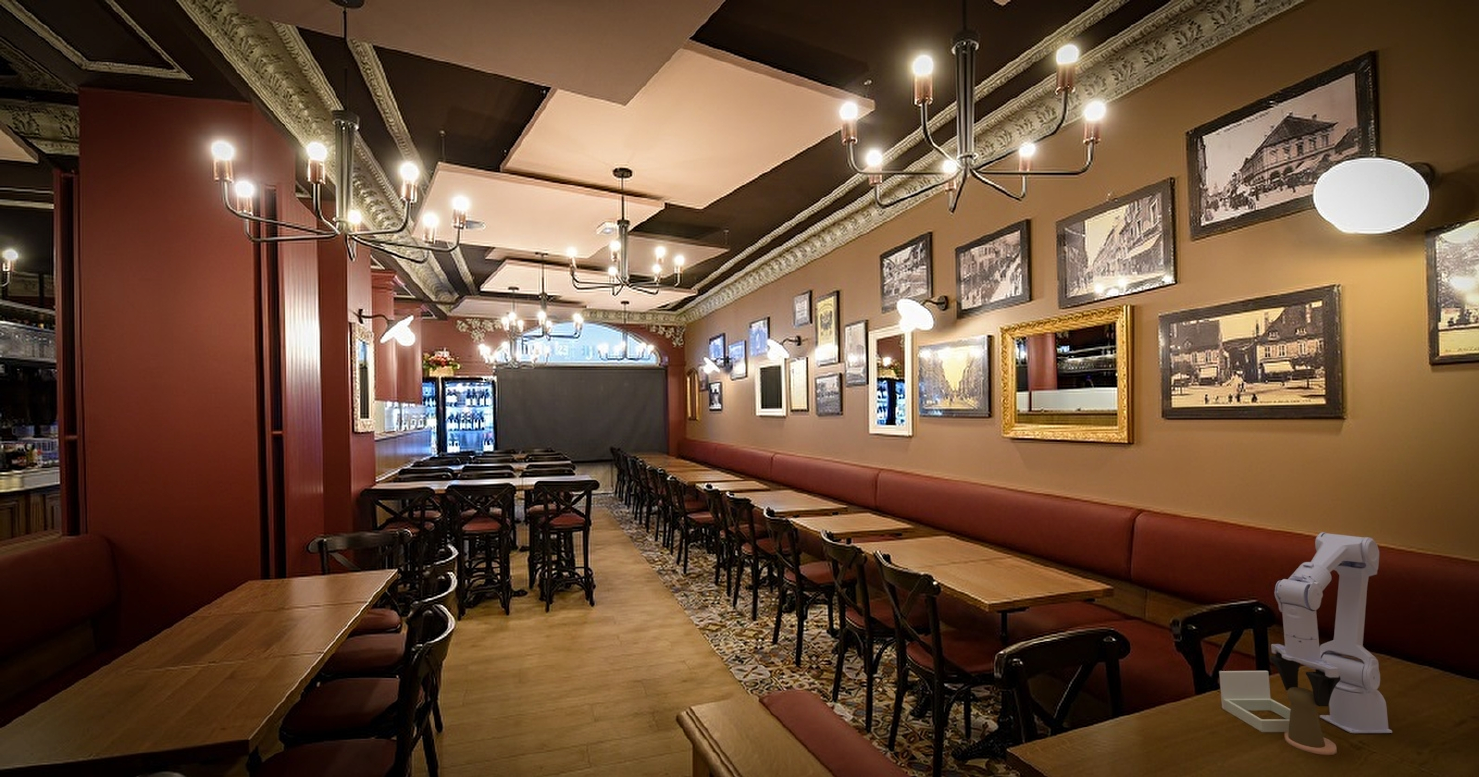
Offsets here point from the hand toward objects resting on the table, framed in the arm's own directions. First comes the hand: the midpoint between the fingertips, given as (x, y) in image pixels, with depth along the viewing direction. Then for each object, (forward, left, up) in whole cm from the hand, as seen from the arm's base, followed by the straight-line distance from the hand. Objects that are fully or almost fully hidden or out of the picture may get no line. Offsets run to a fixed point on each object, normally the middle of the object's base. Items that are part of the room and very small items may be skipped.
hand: (1306, 697), depth 135 cm
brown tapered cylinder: (+1, 0, -9) cm, 9 cm away
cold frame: (0, -11, -10) cm, 15 cm away
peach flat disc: (0, 0, -10) cm, 10 cm away
